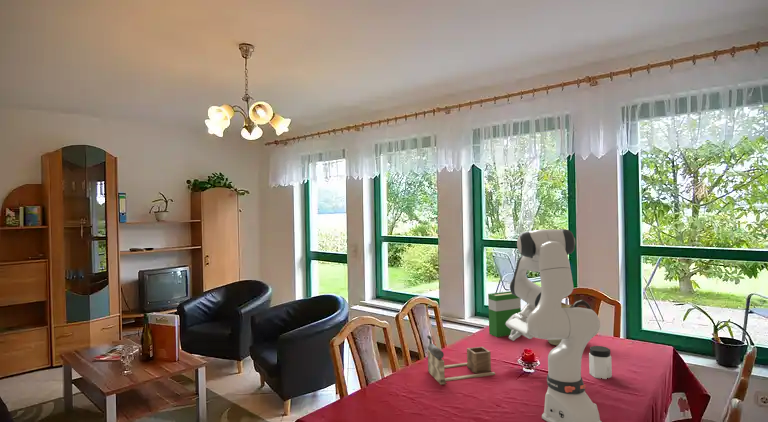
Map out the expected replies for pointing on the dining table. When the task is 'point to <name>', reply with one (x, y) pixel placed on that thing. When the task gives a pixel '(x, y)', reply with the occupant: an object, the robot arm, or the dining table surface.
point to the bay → (438, 366)
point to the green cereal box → (502, 312)
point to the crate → (478, 359)
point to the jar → (600, 362)
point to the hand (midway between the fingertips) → (510, 339)
